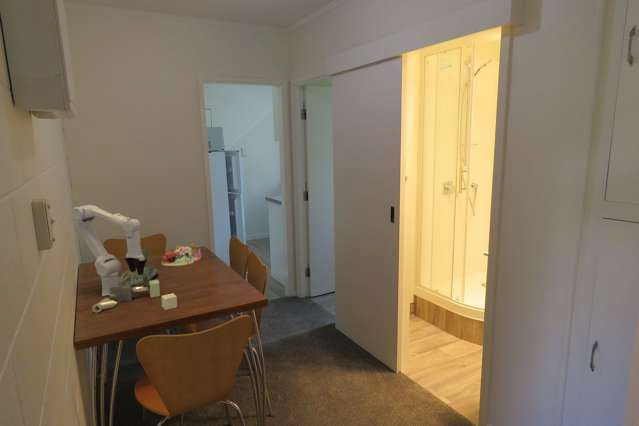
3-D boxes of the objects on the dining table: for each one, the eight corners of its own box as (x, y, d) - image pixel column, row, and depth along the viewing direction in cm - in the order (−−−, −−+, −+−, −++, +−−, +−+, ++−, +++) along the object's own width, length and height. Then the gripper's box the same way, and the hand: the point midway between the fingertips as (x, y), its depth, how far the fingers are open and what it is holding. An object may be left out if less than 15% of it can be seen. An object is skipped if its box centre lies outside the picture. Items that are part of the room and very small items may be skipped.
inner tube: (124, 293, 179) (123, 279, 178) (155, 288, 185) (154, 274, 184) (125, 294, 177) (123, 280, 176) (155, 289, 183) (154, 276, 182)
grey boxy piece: (110, 300, 178) (109, 287, 177) (131, 297, 182) (130, 284, 181) (110, 304, 173) (109, 291, 172) (131, 300, 177) (130, 287, 176)
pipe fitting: (118, 306, 172) (103, 305, 172) (118, 298, 171) (103, 297, 172) (107, 314, 164) (92, 312, 164) (107, 305, 164) (92, 304, 164)
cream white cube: (162, 306, 170) (161, 295, 169) (173, 303, 173) (172, 293, 172) (165, 310, 166) (164, 299, 165) (177, 307, 169) (176, 296, 168)
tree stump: (105, 284, 202) (109, 247, 203) (141, 282, 220) (145, 248, 222) (128, 288, 192) (132, 250, 194) (164, 285, 210) (167, 251, 212)
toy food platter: (163, 257, 252) (162, 243, 251) (201, 254, 259) (200, 240, 257) (160, 268, 228) (159, 252, 227) (201, 264, 235) (201, 249, 234)
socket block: (149, 293, 186) (148, 280, 185) (158, 292, 188) (157, 279, 187) (150, 297, 181) (149, 284, 180) (160, 295, 183) (159, 283, 182)
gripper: (118, 244, 183) (121, 272, 185) (132, 248, 174) (135, 278, 176) (133, 241, 188) (136, 269, 190) (147, 245, 179) (150, 274, 181)
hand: (136, 273), depth 184 cm, fingers open, 7 cm apart
